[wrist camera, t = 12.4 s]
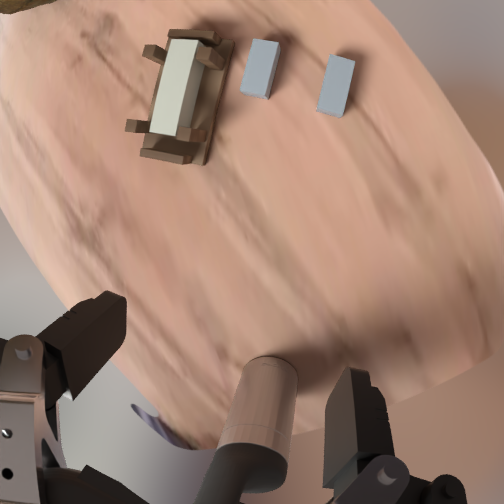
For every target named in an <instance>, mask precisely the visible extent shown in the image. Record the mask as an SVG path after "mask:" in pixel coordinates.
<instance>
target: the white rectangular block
mask: <svg viewBox="0 0 504 504" xmlns="http://www.w3.org/2000/svg"><path fill="white" fill-rule="evenodd" d="M199 47H206V46H205V45H203V44H202V43H201V42H200V41H199V40H186V39H172V40H171V43H170V46H169V50H168V54H167V57H166V61H165V65H164V68H163V72H162V76H161V80H160V84H159V89H158V93H157V97H156V102H155V106H154V111H153V116H152V121H151V126H150V131H149V132H153V133H159V134H166V135H172V136H177V134H178V129H179V126H181V127H188V128H190V125H191V120H192V116H193V111H194V107H195V103H196V98H197V94H198V90H199V86H200V82H201V78H202V74H203V70H204V66H205V65H204V64H203V63H201V62H200V61H199V60H197V59H196V55H197V52H198V48H199Z"/></svg>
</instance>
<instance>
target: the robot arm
mask: <svg viewBox="0 0 504 504" xmlns="http://www.w3.org/2000/svg"><path fill="white" fill-rule="evenodd" d="M126 313H127V301H126V298H125V297H123V296H120V295H118V294H115V293H113V292H110V291H104V292H103V293H102V294H100V295H99V296H98V297H97V298H95V299H92V298H90V299H87V300H84V301H81V302H79V303H78V304H76V305H75V306H74V307H72V308H71V309H70V311H67V312H66V313H65V314H63V316H62V317H59V318H58V319H57V320H56V321H54V322H53V323H52V324H51V325H49V326H48V327H47V328H46V329H44V330H43V331H42V332H41V333H39V334H38V335H37V336H36V337H34V336H32V335H18V336H15V337H13V338H11V339H10V340H9V341H8V340H5V339H2V338H0V504H149V503H147V502H146V501H145V500H143V499H142V498H140V497H139V496H138V495H136V494H135V493H133V492H132V491H131V490H129V489H128V488H127V487H126V486H124V485H123V484H122V483H120V482H118V481H116V480H114V479H112V478H110V477H108V476H107V475H105V474H102V473H101V472H99V471H97V470H95V469H94V468H92V467H90V466H88V465H86V466H85V467H84V469H83V470H82V471H79V470H75V469H70V468H67V465H66V461H65V457H64V454H63V450H62V446H61V434H60V421H59V403H58V399H59V398H60V397H61V396H62V395H64V396H65V397H67V398H68V399H70V400H72V401H74V399H75V398H76V397H77V396H78V394H79V393H80V392H81V391H82V390H83V389H84V388H85V387H86V385H87V384H88V383H89V382H90V380H92V378H93V377H94V376H95V375H96V374H97V373H98V371H99V370H100V369H101V368H102V367H103V366H104V365H105V364H106V362H107V361H108V360H109V359H110V358H111V357H112V356H113V355H114V353H115V352H116V351H117V350H118V349H119V348H120V347H121V345H122V344H123V342H124V339H125V336H126ZM297 384H298V375H297V373H296V370H295V369H294V368H293V366H291V365H290V364H289V363H288V362H286V361H284V360H282V359H279V358H275V357H259V358H256V359H253V360H252V361H250V362H249V363H248V364H246V366H245V367H244V369H243V372H242V375H241V378H240V381H239V384H238V387H237V390H236V393H235V396H234V399H233V402H232V405H231V408H230V411H229V414H228V417H227V420H226V423H225V426H224V428H223V431H222V434H221V438H220V441H219V443H218V446H217V449H216V452H215V455H214V458H213V461H212V463H211V465H210V467H209V469H208V471H207V473H206V475H205V477H204V479H203V482H202V485H201V487H200V490H199V492H198V494H197V497H196V499H195V501H194V503H193V504H244V503H241V502H239V501H240V497H241V494H242V493H264V492H269V491H273V490H275V489H277V488H279V487H280V486H281V485H282V484H283V483H284V481H285V479H286V475H287V468H288V460H289V453H290V444H291V437H292V429H293V420H294V412H295V402H296V394H297ZM386 411H387V408H386V403H385V398H384V397H383V395H382V394H381V392H380V391H379V389H378V388H377V387H372V386H371V381H370V376H369V372H368V371H365V370H361V369H356V368H351V367H347V368H346V369H345V370H344V371H343V373H342V375H341V377H340V379H339V380H338V382H337V384H336V386H335V388H334V389H333V391H332V393H331V394H330V396H329V398H328V401H327V404H326V409H325V446H324V471H323V488H330V489H334V496H333V497H332V498H331V499H330V500H329V501H328V502H327V503H326V504H467V500H466V494H465V489H464V486H463V484H462V483H461V481H460V480H459V479H457V478H456V477H454V476H452V475H448V474H446V475H440V476H438V477H437V478H436V479H435V480H434V481H432V482H429V481H426V480H423V479H420V478H417V477H414V476H411V475H410V474H409V470H408V468H407V466H406V465H405V463H404V462H403V461H401V460H400V459H398V458H397V457H395V453H394V447H393V441H392V435H391V429H390V424H389V422H388V420H389V419H388V413H387V412H386Z"/></svg>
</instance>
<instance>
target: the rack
mask: <svg viewBox="0 0 504 504" xmlns="http://www.w3.org/2000/svg"><path fill="white" fill-rule="evenodd" d="M168 37H169V38H168V41H167V45H166V48H165V50H164V49H163V48H161V47H159V46H157V45H145V47H144V51H143V54H142V56H143V57H146V58H148V59H150V60H152V61H154V62H156V63H159V64H161V66H160V70H159V74H158V78H157V82H156V86H155V90H154V94H153V98H152V103H151V107H150V112H149V117H148V121H142V120H132V119H127V122H126V127H125V131H126V132H133V133H145V137H144V142H143V148H141V150H140V156H141V157H146V158H152V159H157V160H162V161H167V162H171V163H176V164H181V165H183V164H190V163H192V164H197V165H201V166H203V165H205V163H206V159H207V154H208V149H209V145H210V140H211V136H212V131H213V127H214V123H215V118H216V114H217V110H218V106H219V102H220V98H221V94H222V90H223V86H224V82H225V78H226V74H227V70H228V66H229V63H230V59H231V55H232V52H233V48H234V44H235V42H234V41H233V40H228V39H221V38H220V37H219V36H218V34H217V33H216V32H215V31H206V30H184V29H170V30H169V33H168ZM172 39H186V40H199V41H200V42H201V43H202V44H203V45H205V46H206V47H199V48H198V52H197V55H196V59H197V60H199V61H200V62H201V63H203V64H204V65H205V66H204V70H203V74H202V78H201V82H200V86H199V90H198V94H197V98H196V103H195V107H194V111H193V116H192V120H191V125H190V128H188V127H181V126H179V129H178V134H177V136H172V135H166V134H159V133H153V132H149V131H150V126H151V121H152V116H153V111H154V106H155V102H156V97H157V93H158V89H159V84H160V80H161V76H162V72H163V68H164V65H165V61H166V57H167V54H168V50H169V46H170V43H171V40H172Z"/></svg>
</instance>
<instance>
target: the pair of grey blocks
mask: <svg viewBox="0 0 504 504" xmlns="http://www.w3.org/2000/svg"><path fill="white" fill-rule="evenodd" d="M280 52H281V49H280V45H279V42H273V41H267V40H261V39H254V38H253V42H252V45H251V49H250V53H249V56H248V60H247V64H246V68H245V71H244V75H243V79H242V83H241V87H240V91H241V92H242V93H243V94H244V95H248V96H253V97H258V98H263V99H269V95H270V91H271V87H272V83H273V79H274V75H275V71H276V67H277V63H278V59H279V56H280ZM354 65H355V61H353V60H350V59H346V58H343V57H339V56H336V55H332V54H330V56H329V60H328V64H327V68H326V73H325V77H324V81H323V85H322V89H321V93H320V97H319V101H318V105H317V110H316V111H317V112H321V113H325V114H328V115H332V116H335V117H338V118H341V117H342V116H343V112H344V108H345V104H346V100H347V96H348V92H349V87H350V83H351V79H352V74H353V70H354Z"/></svg>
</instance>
